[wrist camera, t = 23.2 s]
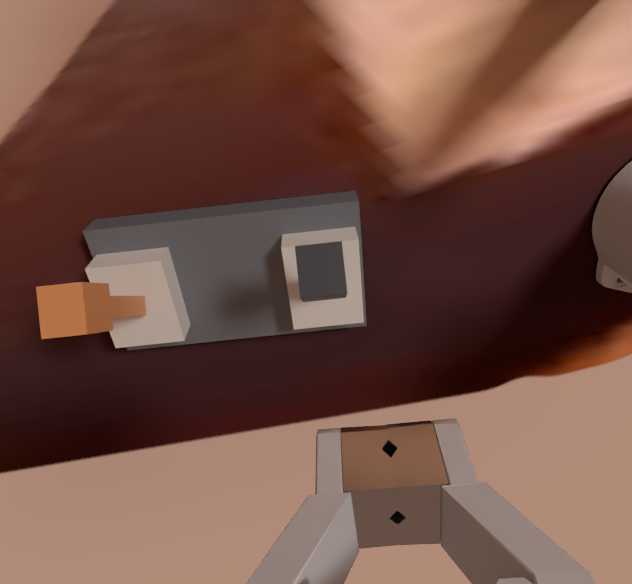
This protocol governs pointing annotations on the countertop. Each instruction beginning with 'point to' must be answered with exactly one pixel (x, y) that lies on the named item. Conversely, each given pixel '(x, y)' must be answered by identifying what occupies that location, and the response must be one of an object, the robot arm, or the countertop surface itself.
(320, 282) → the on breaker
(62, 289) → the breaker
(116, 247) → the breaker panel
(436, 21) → the countertop surface
